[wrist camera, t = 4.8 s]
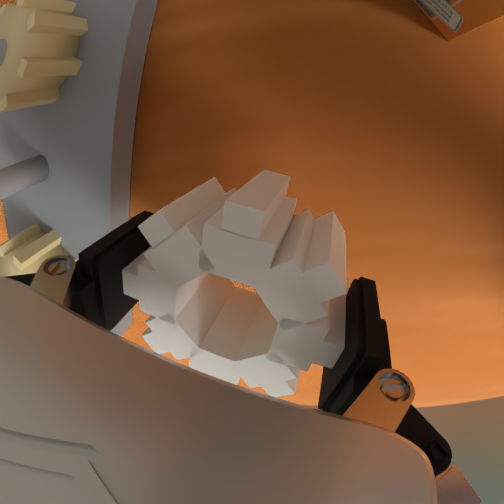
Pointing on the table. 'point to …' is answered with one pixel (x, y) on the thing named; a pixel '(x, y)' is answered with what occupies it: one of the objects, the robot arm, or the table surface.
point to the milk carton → (460, 14)
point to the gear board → (67, 124)
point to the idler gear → (245, 272)
